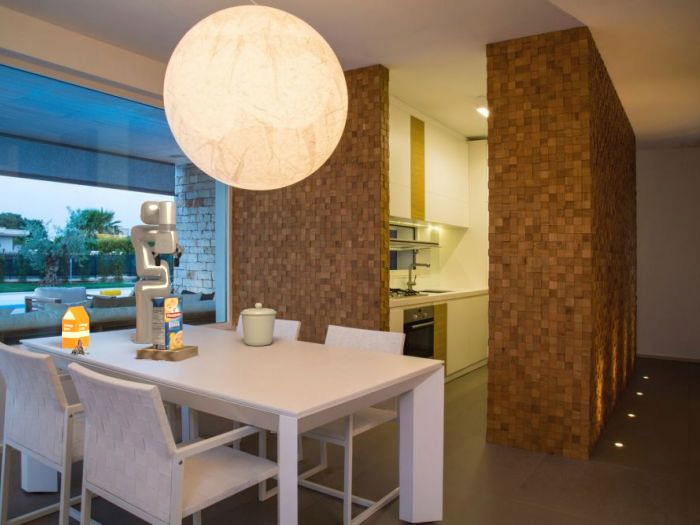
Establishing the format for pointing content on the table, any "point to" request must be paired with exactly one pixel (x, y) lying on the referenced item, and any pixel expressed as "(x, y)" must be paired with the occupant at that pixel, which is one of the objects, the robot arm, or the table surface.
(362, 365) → the table surface
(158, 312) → the beverage box
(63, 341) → the orange juice
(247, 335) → the canister
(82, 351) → the house of cards
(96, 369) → the table surface
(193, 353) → the tan flat block
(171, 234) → the robot arm
